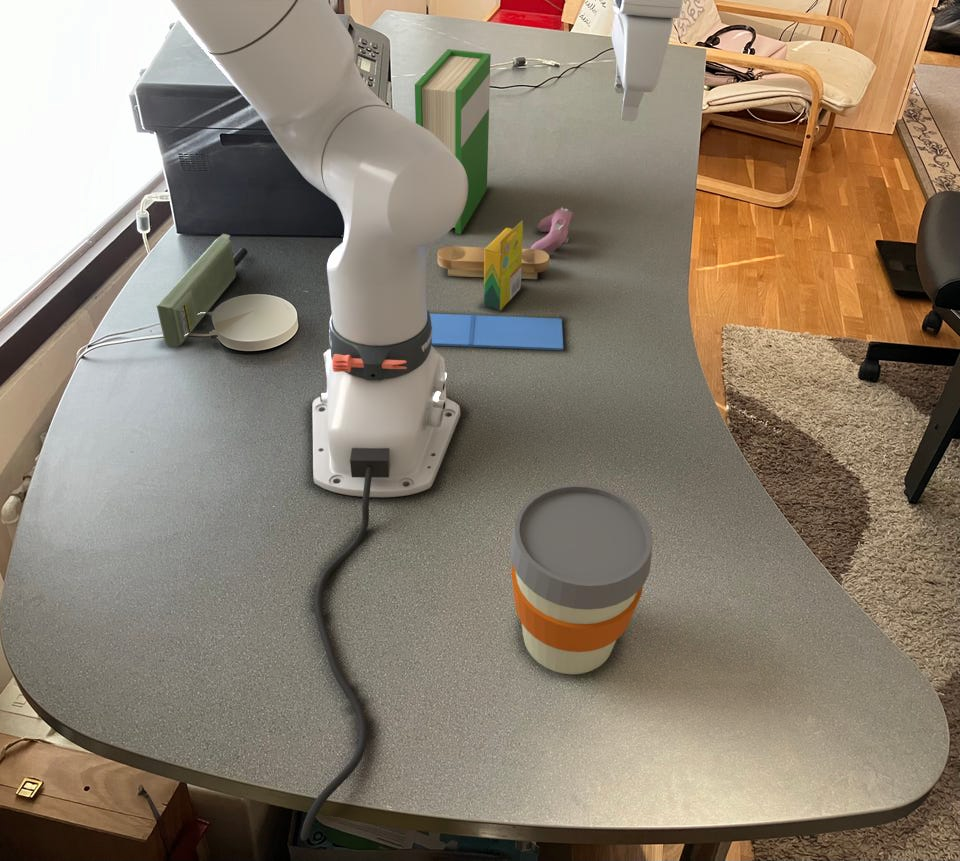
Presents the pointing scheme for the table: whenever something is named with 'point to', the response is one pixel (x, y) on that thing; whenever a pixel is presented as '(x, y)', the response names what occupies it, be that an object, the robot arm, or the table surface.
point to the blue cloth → (497, 331)
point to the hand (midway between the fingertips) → (624, 104)
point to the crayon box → (503, 267)
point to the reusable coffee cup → (577, 573)
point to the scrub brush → (472, 261)
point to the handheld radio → (198, 290)
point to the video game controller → (554, 230)
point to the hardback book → (459, 115)
